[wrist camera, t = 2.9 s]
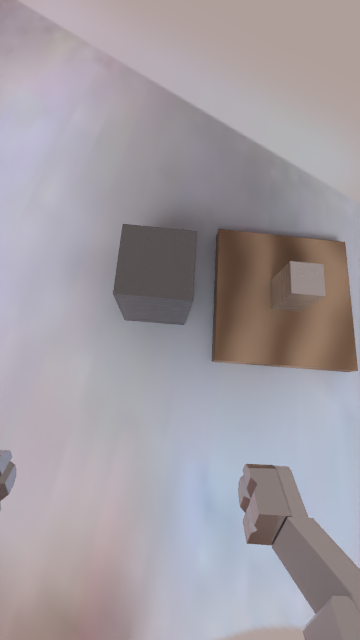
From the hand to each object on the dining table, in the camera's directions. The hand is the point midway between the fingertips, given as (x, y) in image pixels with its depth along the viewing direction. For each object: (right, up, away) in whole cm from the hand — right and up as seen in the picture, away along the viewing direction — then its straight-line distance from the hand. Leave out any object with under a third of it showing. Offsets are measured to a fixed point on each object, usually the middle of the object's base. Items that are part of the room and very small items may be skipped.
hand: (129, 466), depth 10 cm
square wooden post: (+13, +8, +19) cm, 24 cm away
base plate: (+12, +7, +20) cm, 25 cm away
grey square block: (-1, +8, +19) cm, 21 cm away
